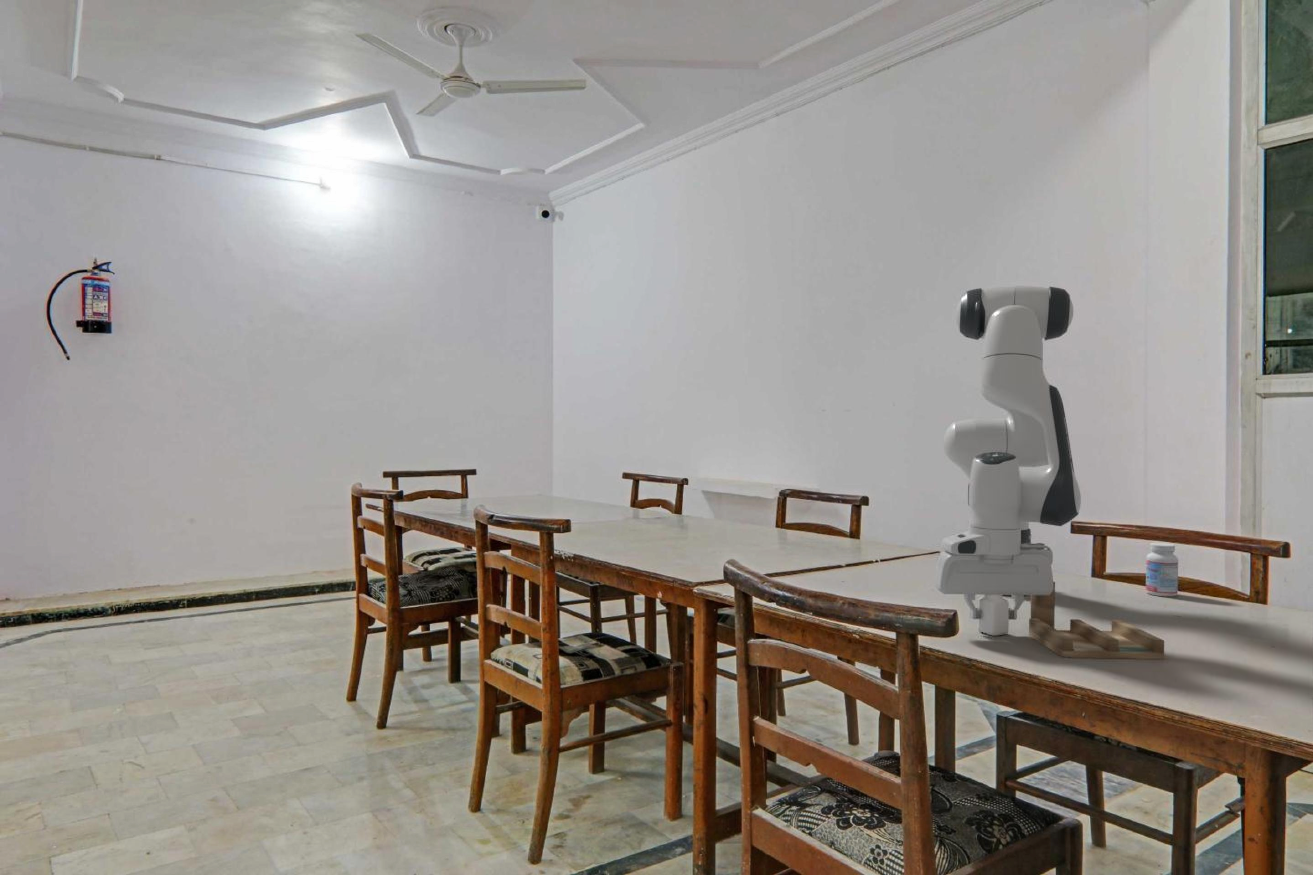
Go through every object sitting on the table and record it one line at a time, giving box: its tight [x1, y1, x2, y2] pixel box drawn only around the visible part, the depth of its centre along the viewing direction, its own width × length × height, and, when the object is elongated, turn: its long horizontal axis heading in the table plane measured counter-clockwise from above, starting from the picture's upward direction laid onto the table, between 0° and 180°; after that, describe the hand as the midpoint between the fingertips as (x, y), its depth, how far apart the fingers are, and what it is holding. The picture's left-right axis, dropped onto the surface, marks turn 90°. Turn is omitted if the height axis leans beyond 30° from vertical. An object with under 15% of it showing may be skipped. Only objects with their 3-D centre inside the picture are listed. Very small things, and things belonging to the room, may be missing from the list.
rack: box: [1028, 618, 1165, 660], centre depth 143 cm, size 14×16×3 cm
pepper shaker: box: [977, 595, 1010, 637], centre depth 152 cm, size 4×4×10 cm
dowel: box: [1030, 580, 1056, 629], centre depth 154 cm, size 4×4×9 cm
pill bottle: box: [1145, 542, 1179, 598], centre depth 187 cm, size 6×6×11 cm
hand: (993, 618), depth 152 cm, fingers closed on pepper shaker, 5 cm apart
